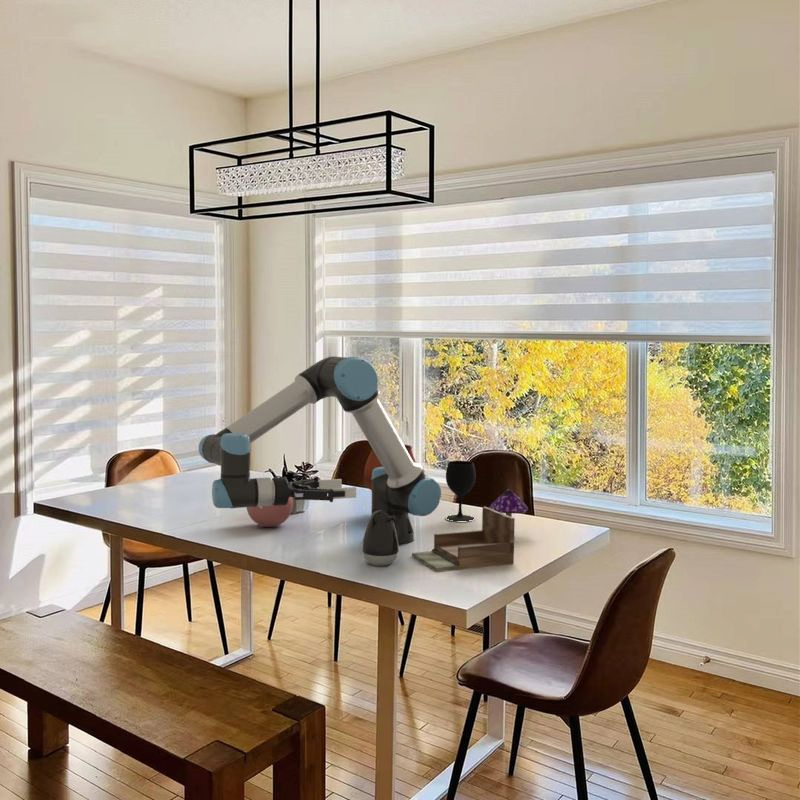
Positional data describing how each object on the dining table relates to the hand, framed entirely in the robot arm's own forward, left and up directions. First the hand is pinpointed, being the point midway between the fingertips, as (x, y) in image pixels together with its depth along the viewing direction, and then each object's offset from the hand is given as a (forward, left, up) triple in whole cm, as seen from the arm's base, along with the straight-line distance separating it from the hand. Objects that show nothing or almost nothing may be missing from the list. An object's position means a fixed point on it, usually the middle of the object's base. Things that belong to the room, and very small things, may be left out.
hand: (348, 488), depth 233 cm
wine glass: (-45, +57, -22) cm, 75 cm away
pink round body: (-57, -10, -22) cm, 62 cm away
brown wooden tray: (+4, +33, -22) cm, 40 cm away
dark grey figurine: (0, +10, -22) cm, 24 cm away
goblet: (-58, +36, -22) cm, 71 cm away
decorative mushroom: (-18, +61, -22) cm, 67 cm away
